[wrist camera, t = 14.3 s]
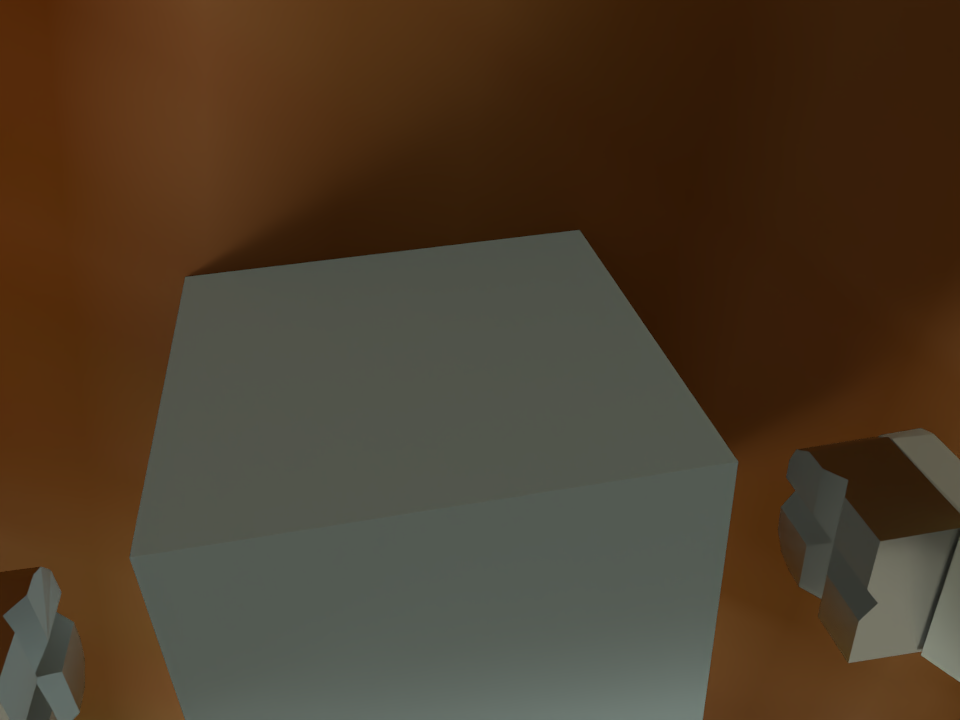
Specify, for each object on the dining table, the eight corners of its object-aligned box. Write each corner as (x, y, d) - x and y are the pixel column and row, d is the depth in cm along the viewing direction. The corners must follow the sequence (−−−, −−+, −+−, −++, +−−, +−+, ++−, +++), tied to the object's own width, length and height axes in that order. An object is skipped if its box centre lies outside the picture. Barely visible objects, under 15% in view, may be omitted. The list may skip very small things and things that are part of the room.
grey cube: (573, 514, 15) (690, 804, 10) (257, 565, 14) (246, 896, 10) (577, 227, 12) (738, 462, 8) (185, 273, 11) (129, 557, 7)
